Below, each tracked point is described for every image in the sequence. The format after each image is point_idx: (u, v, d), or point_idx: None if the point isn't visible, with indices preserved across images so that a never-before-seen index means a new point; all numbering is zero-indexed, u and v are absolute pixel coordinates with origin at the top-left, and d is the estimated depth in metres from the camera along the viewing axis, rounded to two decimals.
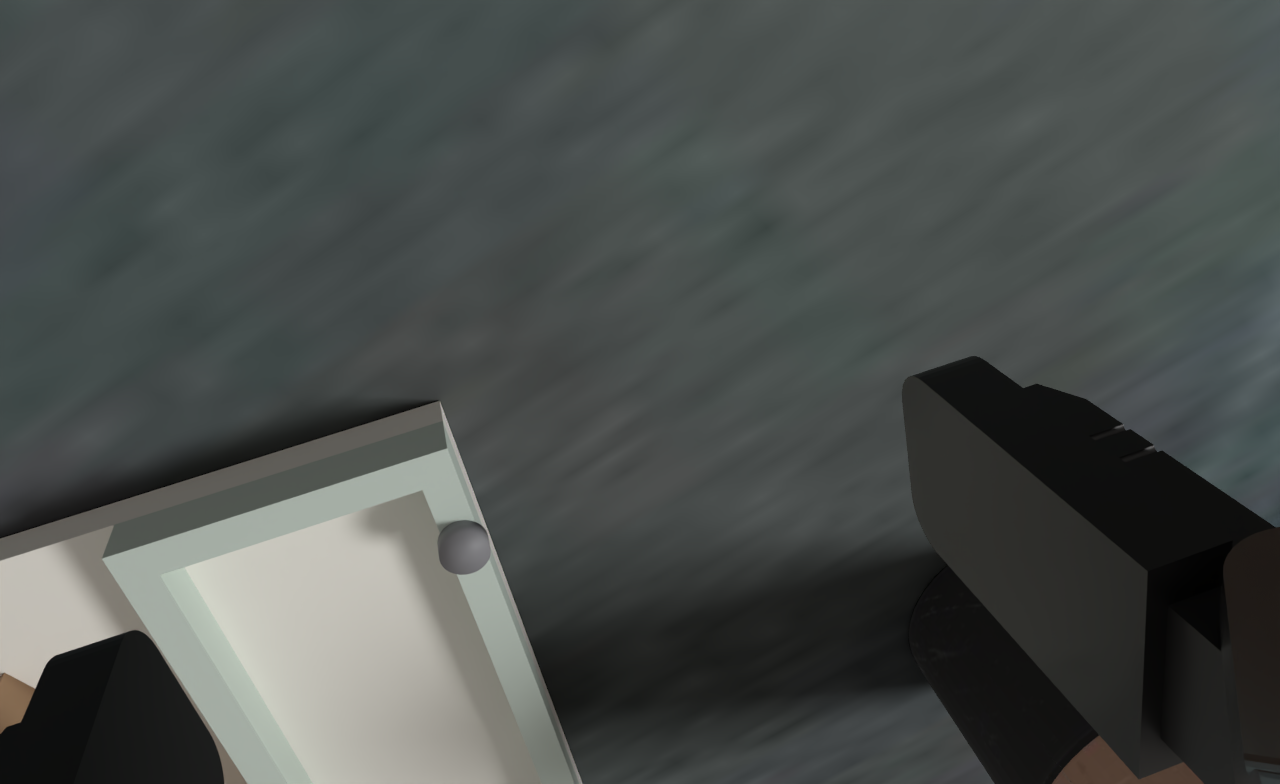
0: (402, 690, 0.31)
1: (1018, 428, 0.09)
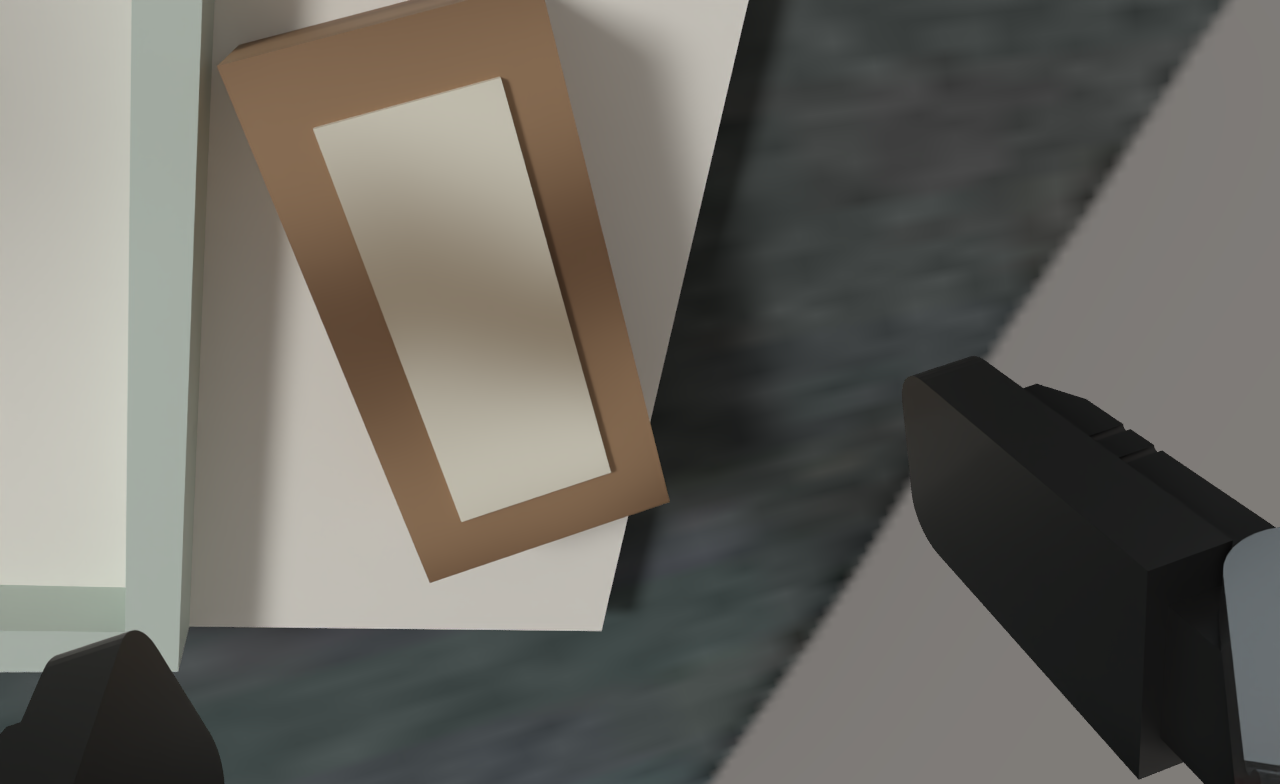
0: None
1: (1018, 428, 0.09)
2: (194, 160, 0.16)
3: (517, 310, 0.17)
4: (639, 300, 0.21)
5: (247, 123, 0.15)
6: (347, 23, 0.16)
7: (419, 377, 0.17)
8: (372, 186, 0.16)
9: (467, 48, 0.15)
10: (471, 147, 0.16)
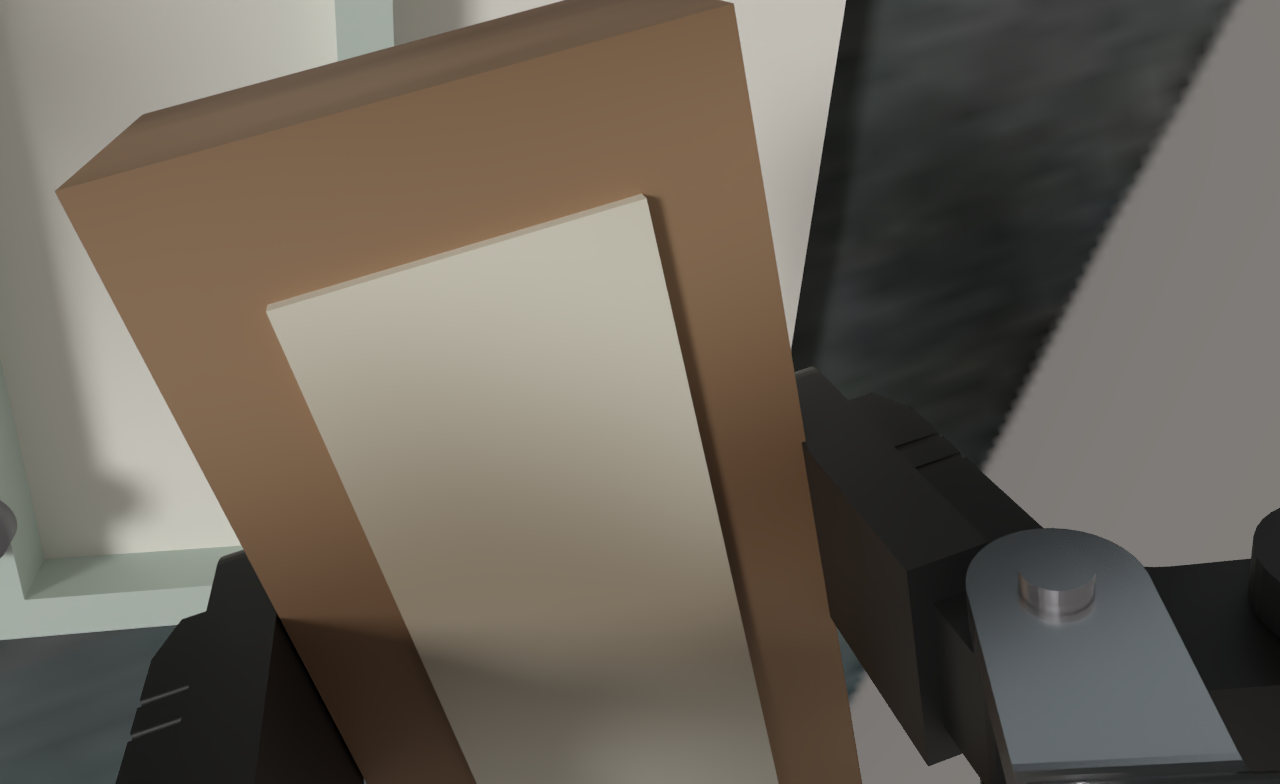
0: None
1: (831, 436, 0.09)
2: None
3: (648, 595, 0.10)
4: (774, 234, 0.23)
5: (128, 302, 0.07)
6: (338, 83, 0.08)
7: (473, 719, 0.09)
8: (387, 411, 0.08)
9: (581, 140, 0.07)
10: (582, 330, 0.08)
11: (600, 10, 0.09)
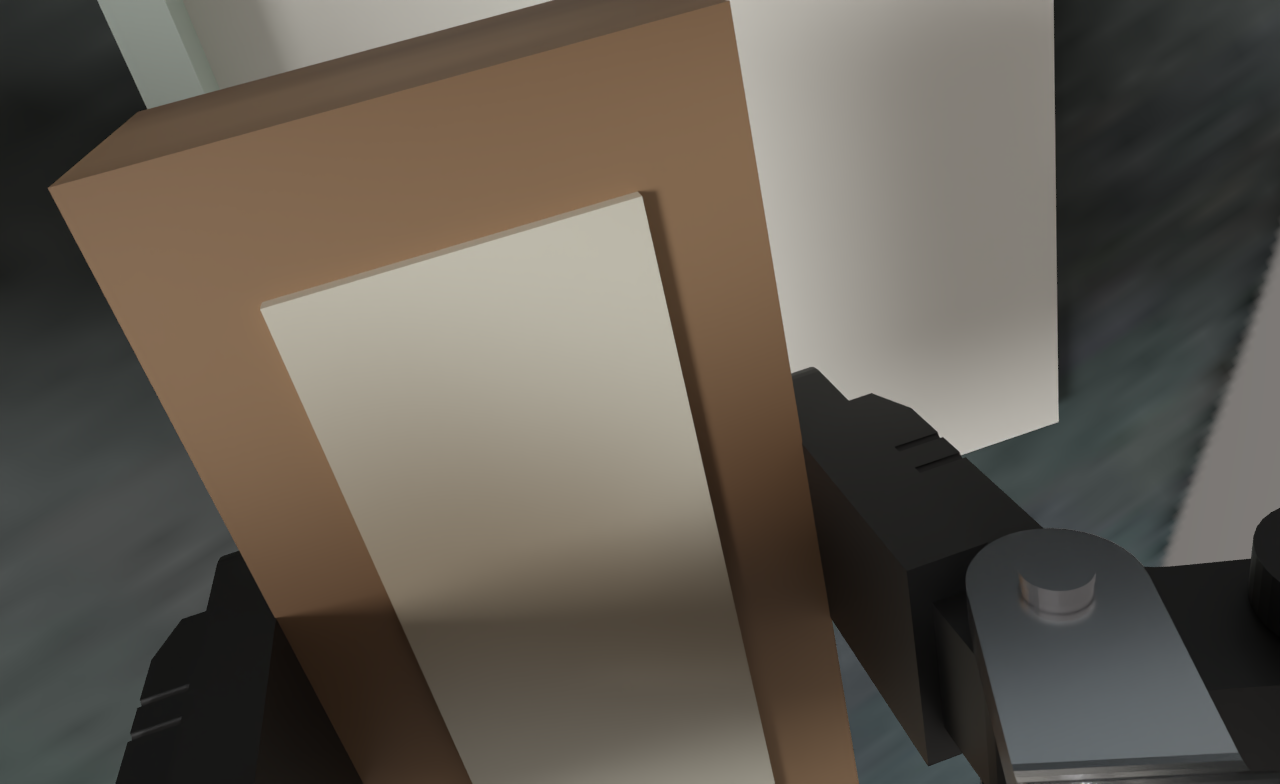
0: None
1: (831, 436, 0.09)
2: None
3: (645, 594, 0.09)
4: (1021, 121, 0.23)
5: (122, 300, 0.07)
6: (333, 80, 0.08)
7: (468, 719, 0.09)
8: (381, 410, 0.08)
9: (575, 138, 0.07)
10: (578, 328, 0.08)
11: (596, 8, 0.09)
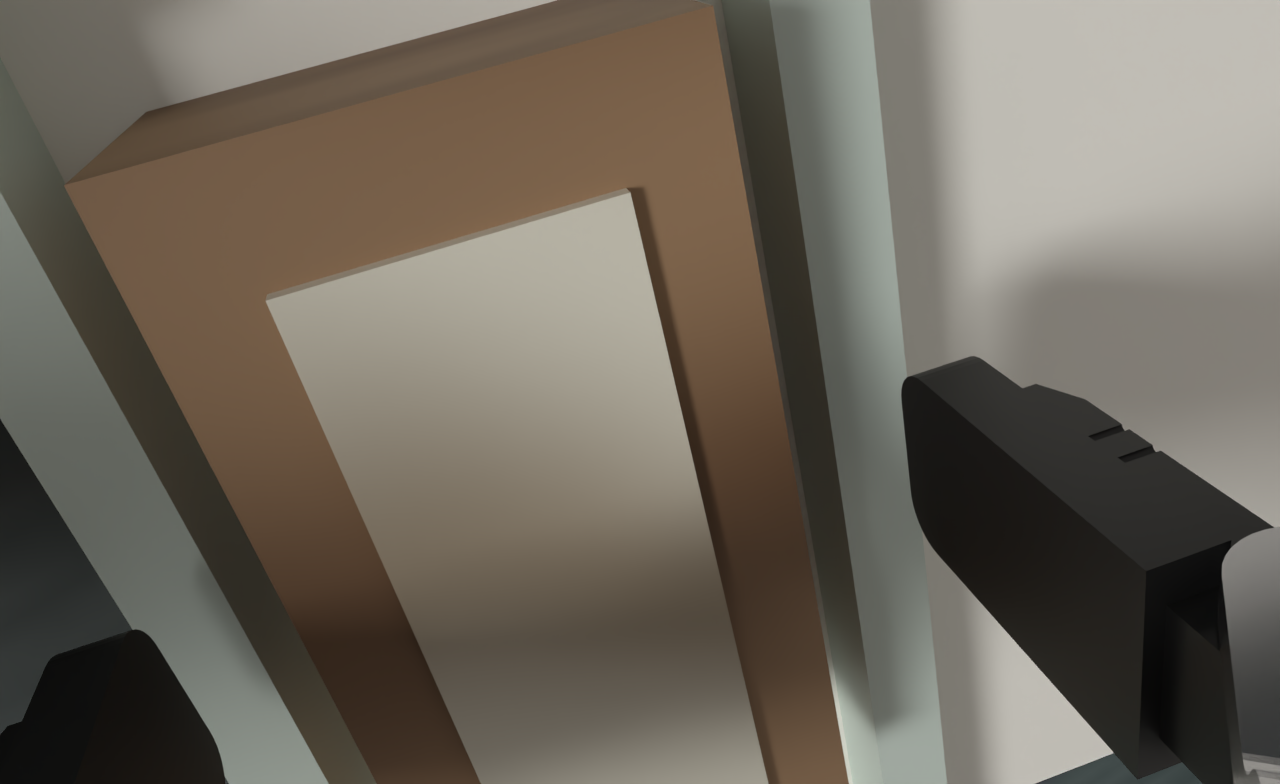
0: None
1: (1017, 428, 0.09)
2: (899, 343, 0.11)
3: (636, 576, 0.10)
4: None
5: (134, 292, 0.07)
6: (335, 81, 0.09)
7: (466, 695, 0.10)
8: (383, 397, 0.08)
9: (568, 136, 0.08)
10: (569, 319, 0.08)
11: (588, 11, 0.09)
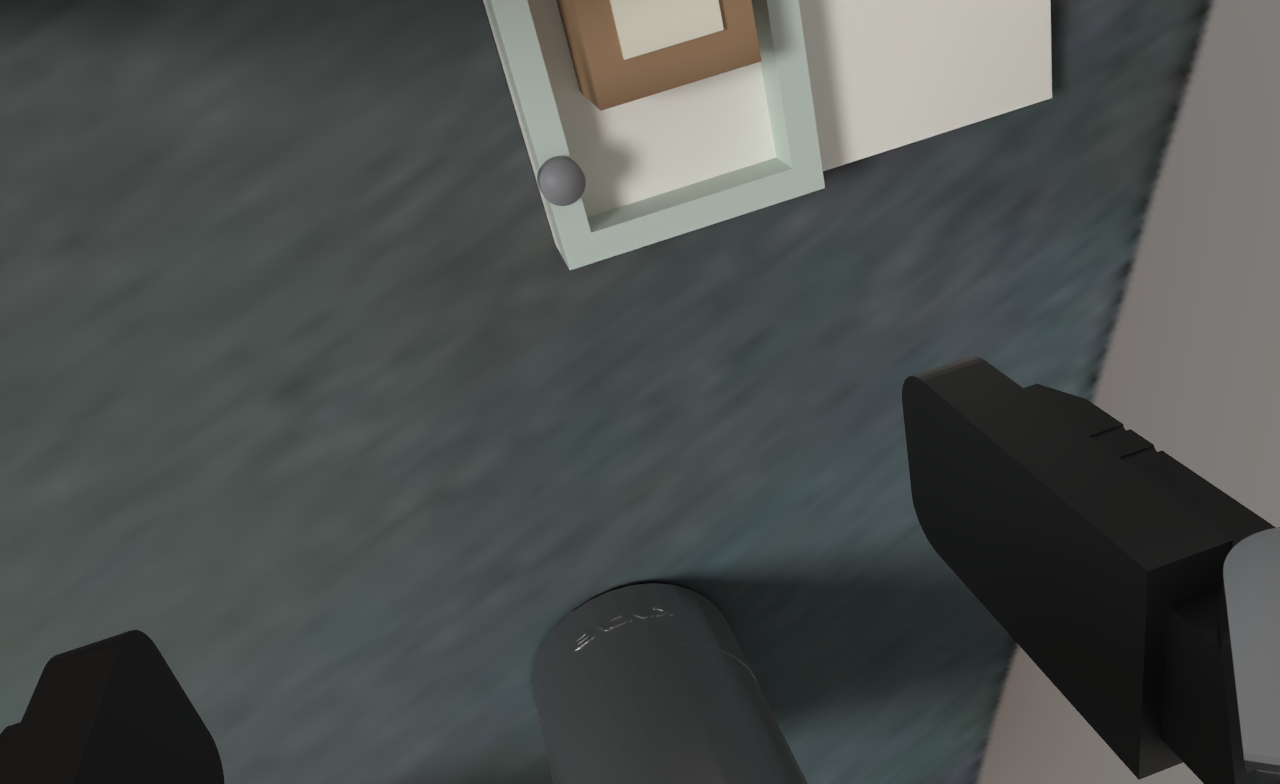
0: None
1: (1018, 428, 0.09)
2: None
3: None
4: None
5: None
6: None
7: None
8: None
9: None
10: None
11: None
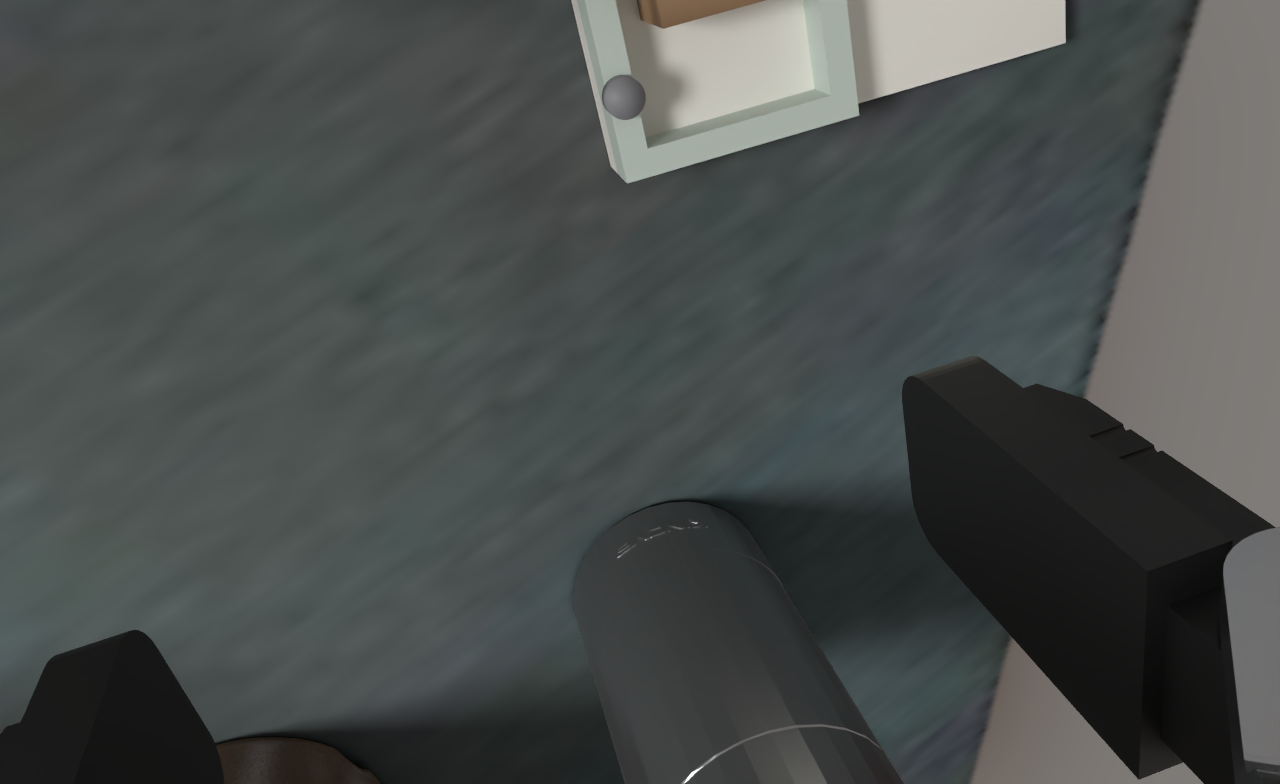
0: None
1: (1018, 428, 0.09)
2: None
3: None
4: None
5: None
6: None
7: None
8: None
9: None
10: None
11: None
